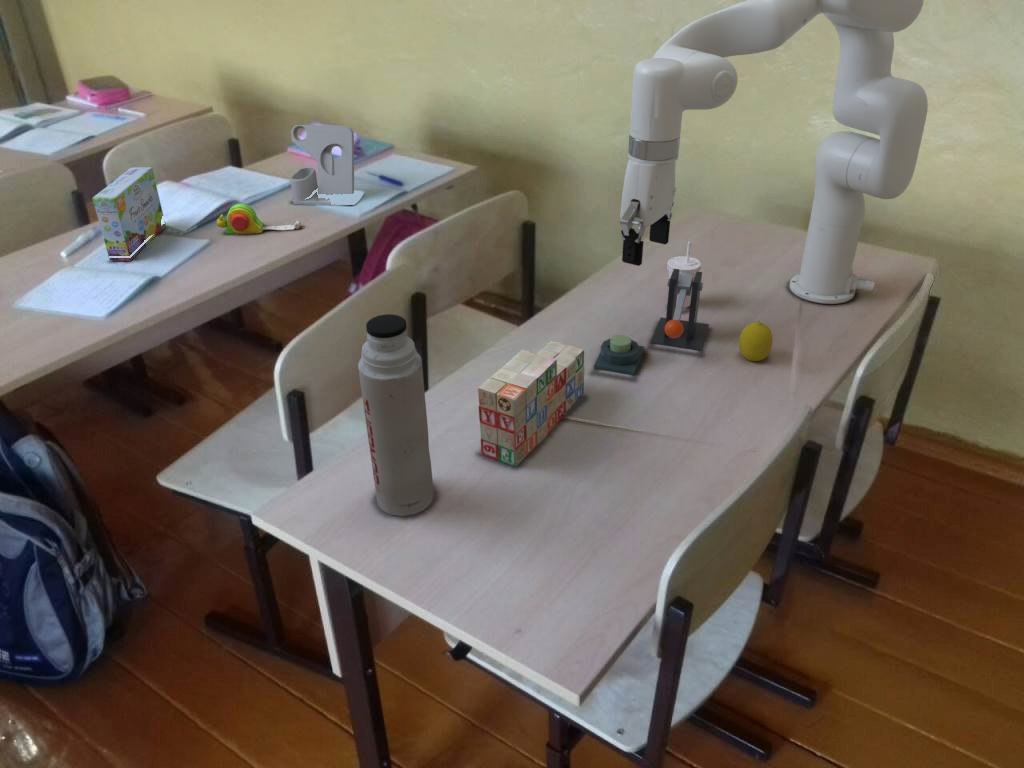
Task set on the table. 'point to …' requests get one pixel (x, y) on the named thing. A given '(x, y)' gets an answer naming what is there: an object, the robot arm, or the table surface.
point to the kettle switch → (679, 306)
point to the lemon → (755, 341)
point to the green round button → (620, 344)
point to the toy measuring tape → (247, 221)
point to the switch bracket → (692, 329)
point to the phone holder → (324, 163)
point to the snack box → (129, 212)
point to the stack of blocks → (528, 400)
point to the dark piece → (619, 359)
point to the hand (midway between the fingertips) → (645, 252)
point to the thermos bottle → (396, 417)
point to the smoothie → (684, 269)
